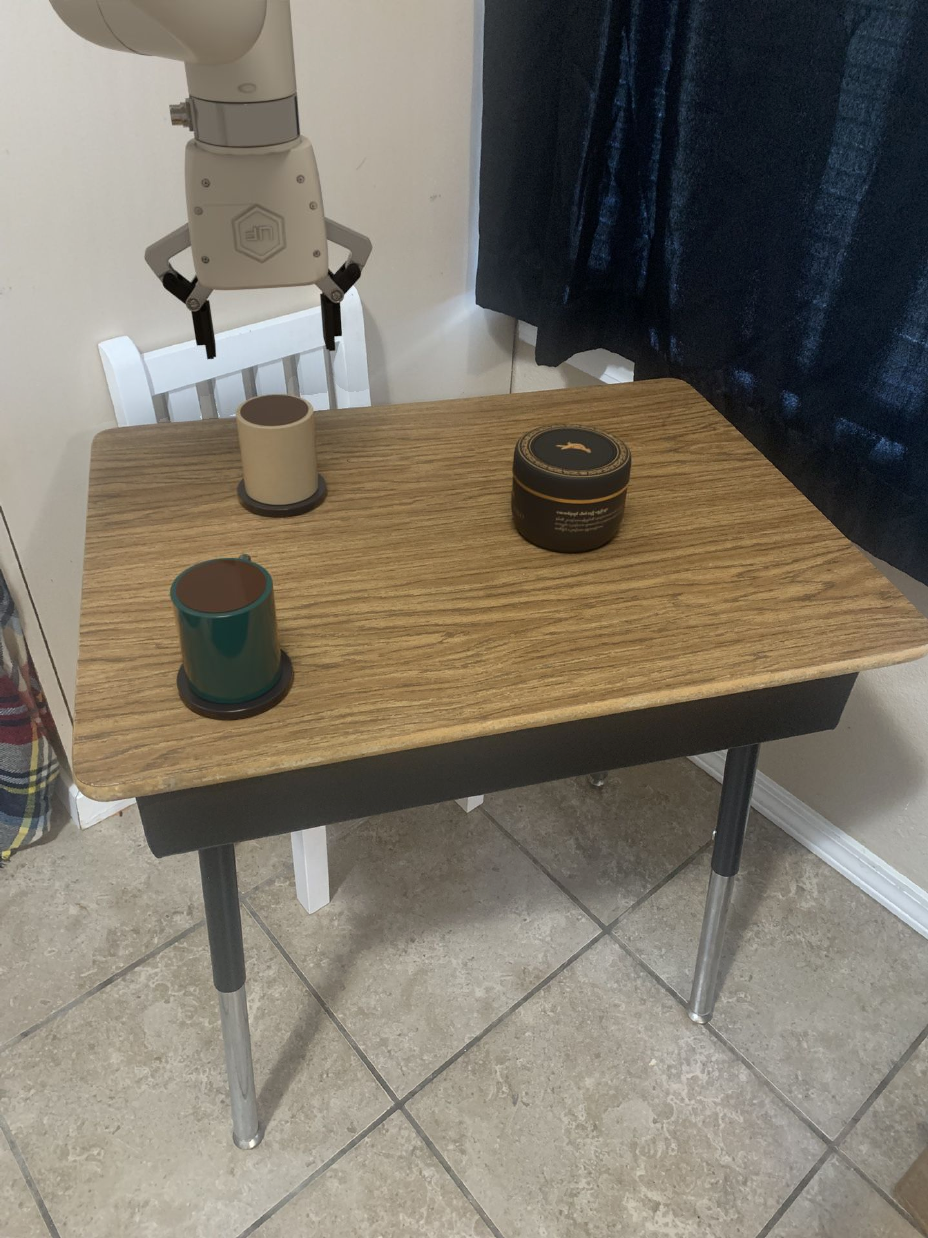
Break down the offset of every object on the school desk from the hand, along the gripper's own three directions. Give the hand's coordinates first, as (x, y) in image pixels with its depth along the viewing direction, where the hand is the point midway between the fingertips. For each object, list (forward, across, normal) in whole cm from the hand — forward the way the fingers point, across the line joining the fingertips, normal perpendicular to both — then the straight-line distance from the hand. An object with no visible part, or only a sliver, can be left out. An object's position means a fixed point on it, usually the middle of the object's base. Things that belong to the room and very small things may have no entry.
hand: (271, 348), depth 81 cm
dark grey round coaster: (+14, 0, 0) cm, 14 cm away
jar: (+14, +24, -10) cm, 29 cm away
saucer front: (+14, -5, -25) cm, 29 cm away
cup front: (+13, -5, -24) cm, 27 cm away
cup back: (+13, 0, +1) cm, 13 cm away
